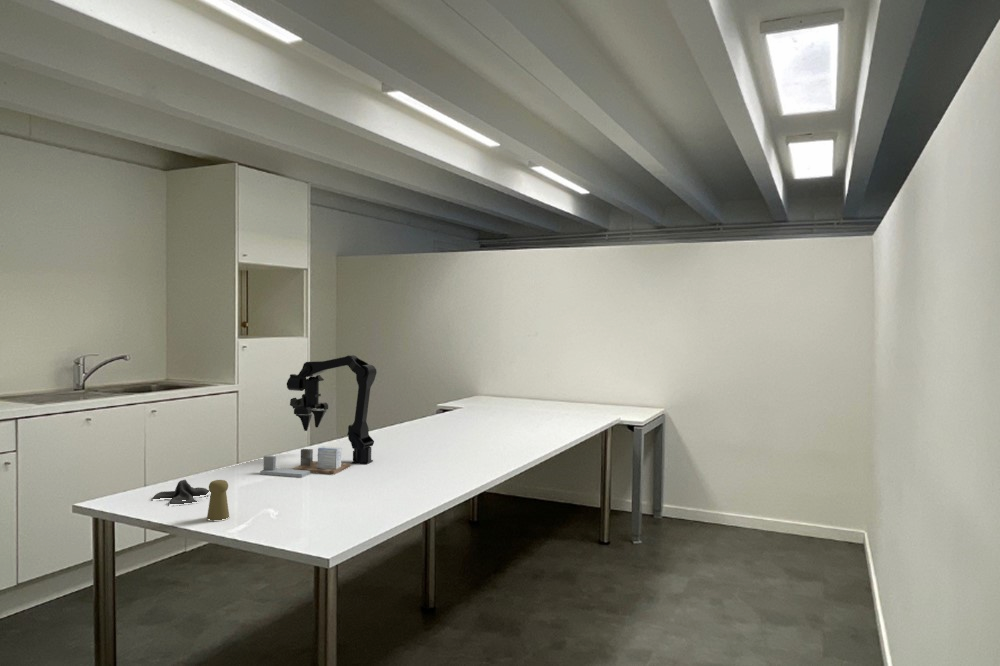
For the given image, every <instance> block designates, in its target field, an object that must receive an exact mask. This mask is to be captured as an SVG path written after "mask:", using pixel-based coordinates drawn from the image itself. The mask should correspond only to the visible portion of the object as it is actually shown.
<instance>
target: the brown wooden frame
mask: <svg viewBox="0 0 1000 666" xmlns="http://www.w3.org/2000/svg"><path fill="white" fill-rule="evenodd" d="M313 452H314V449H311V448H301V449H300V465H297V466H295V467H292V469H294V470H307V471H310V474H318V473H319V474H320V475H321V474H322V475H331V474H334V475H336V474H338V473H341V472H342V470H343V471H344V469H345V470H347V469H349V468H351V463H345V462H344V463H343V462H341V467H340V468H337V469H332V470H325V469H319V468H317V466H318V460H317V461H316V460H313V457H314V456H313V455H314V453H313ZM348 467H349V468H348ZM346 468H347V469H346Z"/></svg>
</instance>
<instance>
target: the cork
mask: <svg viewBox="0 0 1000 666" xmlns="http://www.w3.org/2000/svg"><path fill="white" fill-rule="evenodd" d="M228 488H229V482H228V481H227V480H226V479H215V480H213V481H212V480H211V481H210V483H209V484H208V490H209V491H210V492H211V494H209V496H210V498H209V503H208V507H207V508H208V509H207V514H206V515H207V517H206V520H207V519H210V520H222V519H226V518H228V517H229V518H230V512H229V504H228V503H229V502H228V496H227V491H228Z"/></svg>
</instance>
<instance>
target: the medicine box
mask: <svg viewBox="0 0 1000 666" xmlns="http://www.w3.org/2000/svg"><path fill="white" fill-rule="evenodd" d="M317 461H318V466H317V468H319V469H325V470H332V469H337V468H340V467H341V463H342V447H339V446H320V447H318V448H317Z"/></svg>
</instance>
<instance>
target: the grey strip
mask: <svg viewBox="0 0 1000 666" xmlns="http://www.w3.org/2000/svg"><path fill="white" fill-rule="evenodd" d="M276 457H277V456H276V455H264V456H263V468H262V470H260V472H259V474H260V475H263V474H267V475H266V476H276V475H280V476H279V477H289V476H291V478H292V477H293V478H304V477H306V475H307V476H309V475H310V474H311V473H310V471H307V470H294V469H289V468H280V467H276V460H277V459H276Z"/></svg>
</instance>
